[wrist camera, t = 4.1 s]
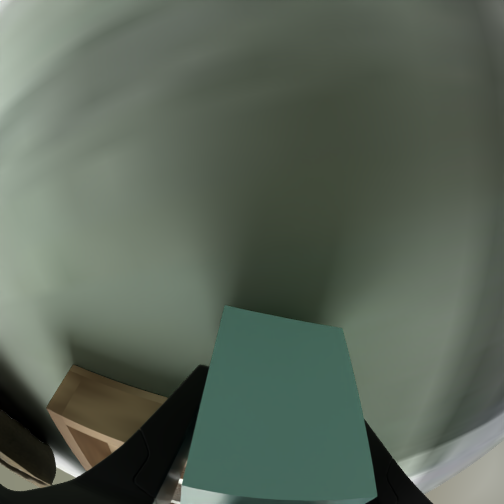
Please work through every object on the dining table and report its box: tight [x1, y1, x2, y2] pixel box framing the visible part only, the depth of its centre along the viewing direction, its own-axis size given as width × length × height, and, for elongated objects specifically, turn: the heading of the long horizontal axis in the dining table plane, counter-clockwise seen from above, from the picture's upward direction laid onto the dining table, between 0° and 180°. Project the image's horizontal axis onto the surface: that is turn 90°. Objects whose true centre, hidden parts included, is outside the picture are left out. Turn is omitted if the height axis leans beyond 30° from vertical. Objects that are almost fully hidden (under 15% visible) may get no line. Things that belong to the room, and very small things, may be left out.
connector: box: [180, 305, 377, 504], centre depth 7 cm, size 4×4×7 cm
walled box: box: [46, 365, 188, 504], centre depth 16 cm, size 14×14×4 cm
